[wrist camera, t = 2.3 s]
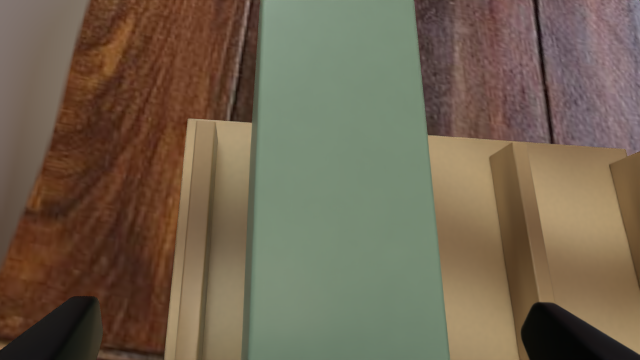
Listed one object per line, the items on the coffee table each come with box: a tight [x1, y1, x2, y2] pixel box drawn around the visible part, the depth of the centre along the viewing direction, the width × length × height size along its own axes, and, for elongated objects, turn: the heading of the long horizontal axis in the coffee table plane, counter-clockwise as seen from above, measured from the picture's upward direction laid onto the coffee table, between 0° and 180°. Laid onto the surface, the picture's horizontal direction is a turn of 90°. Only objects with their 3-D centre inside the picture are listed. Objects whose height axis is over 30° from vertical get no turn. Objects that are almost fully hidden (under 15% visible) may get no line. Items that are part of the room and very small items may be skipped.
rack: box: [164, 119, 640, 360], centre depth 19 cm, size 12×24×3 cm, turn 91°
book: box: [241, 0, 450, 360], centre depth 13 cm, size 10×4×11 cm, turn 1°
